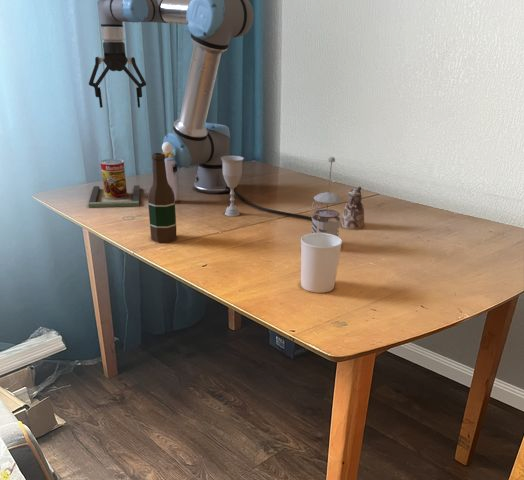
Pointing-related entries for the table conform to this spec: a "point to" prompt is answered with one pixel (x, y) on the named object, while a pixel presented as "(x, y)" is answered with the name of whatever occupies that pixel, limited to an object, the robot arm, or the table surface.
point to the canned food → (113, 178)
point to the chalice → (232, 179)
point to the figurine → (353, 210)
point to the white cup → (319, 261)
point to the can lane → (94, 202)
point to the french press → (326, 211)
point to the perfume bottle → (170, 166)
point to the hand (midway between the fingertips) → (120, 107)
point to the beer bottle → (161, 203)
